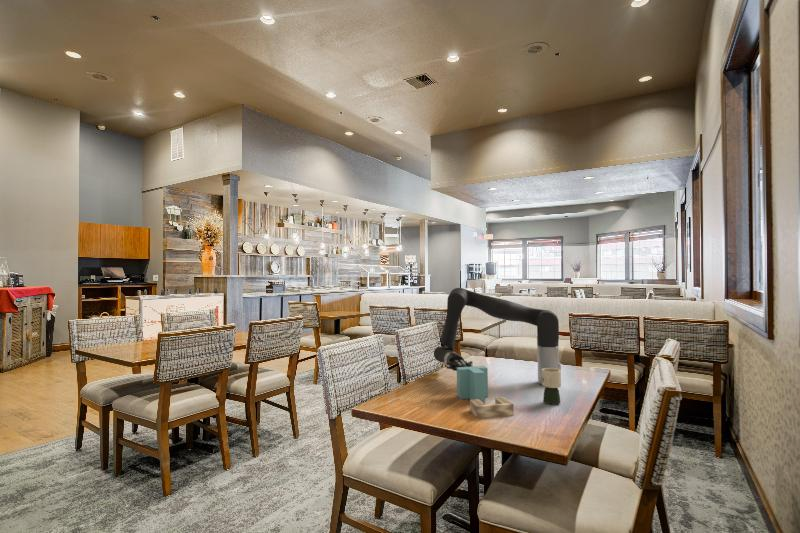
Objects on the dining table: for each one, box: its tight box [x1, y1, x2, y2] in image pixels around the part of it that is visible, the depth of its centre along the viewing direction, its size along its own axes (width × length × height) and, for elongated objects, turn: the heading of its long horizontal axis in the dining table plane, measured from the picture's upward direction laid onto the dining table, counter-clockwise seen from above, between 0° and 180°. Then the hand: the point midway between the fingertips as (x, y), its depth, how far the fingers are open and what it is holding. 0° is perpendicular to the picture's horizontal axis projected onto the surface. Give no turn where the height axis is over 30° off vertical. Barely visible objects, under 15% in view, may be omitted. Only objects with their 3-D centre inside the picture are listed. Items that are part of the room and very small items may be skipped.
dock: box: [469, 396, 515, 419], centre depth 156 cm, size 14×8×4 cm, turn 100°
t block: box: [456, 365, 489, 404], centre depth 173 cm, size 12×11×12 cm
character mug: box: [541, 368, 562, 405], centre depth 166 cm, size 11×7×13 cm, turn 145°
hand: (465, 369), depth 183 cm, fingers closed
